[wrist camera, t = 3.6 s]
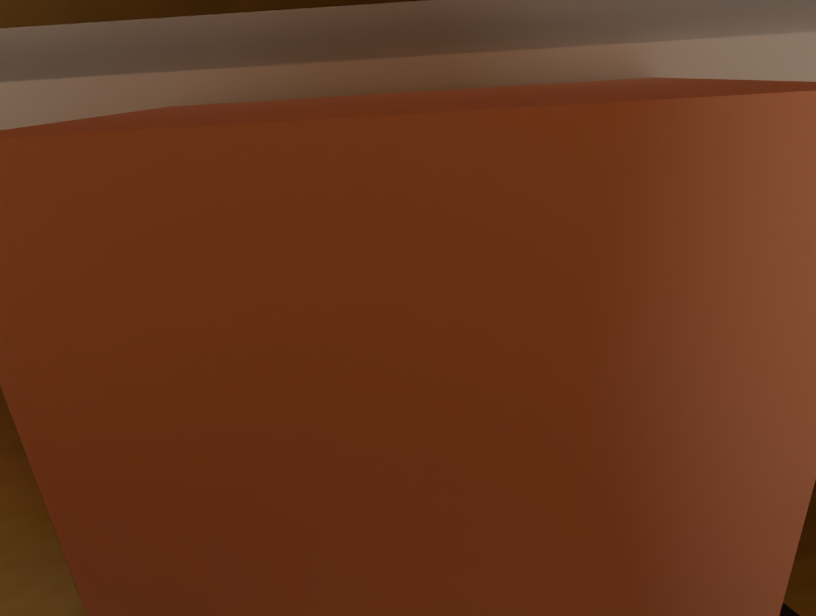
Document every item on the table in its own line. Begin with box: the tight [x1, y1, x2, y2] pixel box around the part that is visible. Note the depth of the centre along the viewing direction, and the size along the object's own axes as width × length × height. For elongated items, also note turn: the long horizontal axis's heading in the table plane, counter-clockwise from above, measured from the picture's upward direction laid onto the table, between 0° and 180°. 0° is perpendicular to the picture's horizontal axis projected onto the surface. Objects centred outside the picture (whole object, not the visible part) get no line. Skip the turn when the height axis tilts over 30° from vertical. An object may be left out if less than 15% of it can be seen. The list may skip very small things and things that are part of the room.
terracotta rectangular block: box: [0, 77, 816, 616], centre depth 8 cm, size 6×13×4 cm, turn 3°
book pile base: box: [0, 0, 816, 130], centre depth 11 cm, size 12×15×2 cm
